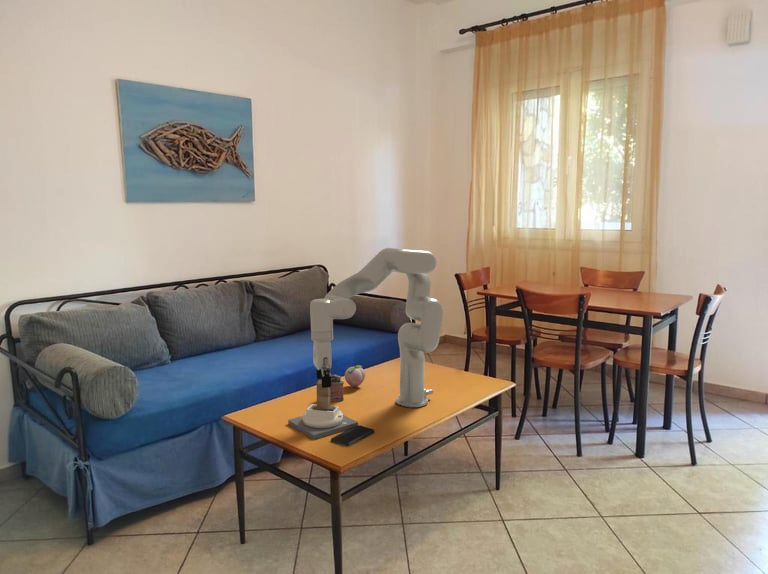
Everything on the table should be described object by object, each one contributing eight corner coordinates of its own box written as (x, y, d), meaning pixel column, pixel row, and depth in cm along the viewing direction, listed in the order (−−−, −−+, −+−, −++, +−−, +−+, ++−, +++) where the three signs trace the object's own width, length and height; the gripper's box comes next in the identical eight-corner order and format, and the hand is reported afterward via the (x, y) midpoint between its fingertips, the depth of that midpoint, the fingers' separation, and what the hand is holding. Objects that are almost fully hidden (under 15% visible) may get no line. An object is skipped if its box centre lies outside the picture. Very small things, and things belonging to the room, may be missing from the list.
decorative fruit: (351, 382, 240) (351, 360, 238) (367, 385, 236) (367, 363, 235) (340, 389, 231) (340, 366, 230) (357, 391, 228) (357, 368, 227)
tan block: (315, 412, 194) (314, 379, 193) (334, 413, 194) (334, 380, 192) (312, 416, 190) (312, 383, 189) (332, 417, 190) (332, 384, 188)
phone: (375, 430, 187) (347, 444, 175) (375, 433, 187) (347, 448, 175) (357, 424, 191) (329, 438, 179) (357, 427, 191) (329, 442, 179)
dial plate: (331, 412, 205) (331, 408, 204) (357, 426, 192) (357, 421, 191) (288, 423, 194) (288, 419, 193) (313, 439, 180) (313, 434, 180)
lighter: (345, 398, 219) (345, 374, 218) (341, 401, 216) (341, 377, 215) (326, 396, 222) (326, 372, 221) (323, 399, 219) (322, 375, 218)
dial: (296, 425, 187) (296, 413, 187) (311, 411, 201) (311, 399, 200) (335, 430, 184) (334, 417, 183) (348, 415, 197) (348, 403, 197)
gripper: (307, 330, 195) (309, 376, 198) (315, 341, 179) (317, 392, 182) (328, 328, 197) (329, 374, 200) (338, 339, 181) (339, 389, 184)
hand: (323, 382), depth 191 cm, fingers open, 9 cm apart
